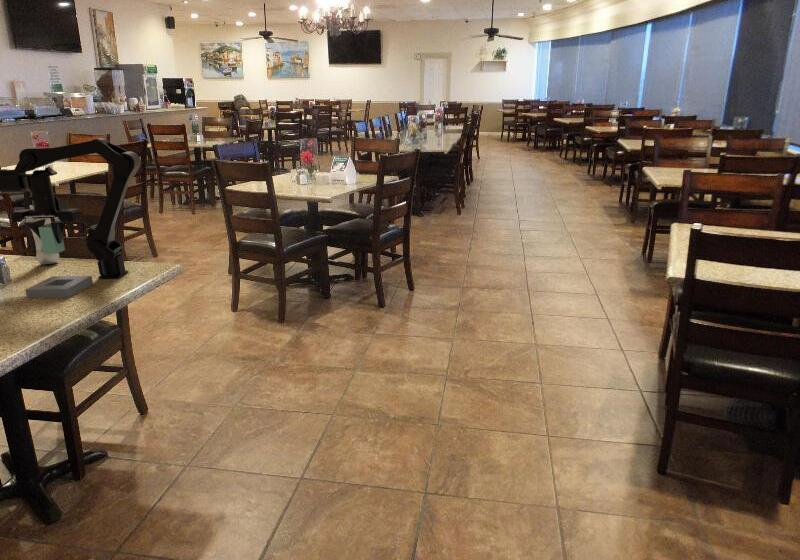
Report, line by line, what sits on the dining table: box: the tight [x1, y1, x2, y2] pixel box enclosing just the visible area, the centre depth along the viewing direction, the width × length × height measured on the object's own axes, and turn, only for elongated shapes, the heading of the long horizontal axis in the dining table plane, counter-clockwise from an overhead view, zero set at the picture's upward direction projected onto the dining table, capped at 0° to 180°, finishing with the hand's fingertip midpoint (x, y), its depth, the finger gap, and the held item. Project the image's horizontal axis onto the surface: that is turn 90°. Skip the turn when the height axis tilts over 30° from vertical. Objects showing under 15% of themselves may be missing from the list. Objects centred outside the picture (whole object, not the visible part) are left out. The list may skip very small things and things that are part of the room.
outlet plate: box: [25, 275, 94, 299], centre depth 166 cm, size 12×12×2 cm
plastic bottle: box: [29, 204, 60, 265], centre depth 191 cm, size 6×7×20 cm
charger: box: [38, 222, 66, 254], centre depth 173 cm, size 4×4×9 cm
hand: (53, 243), depth 173 cm, fingers closed on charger, 4 cm apart
